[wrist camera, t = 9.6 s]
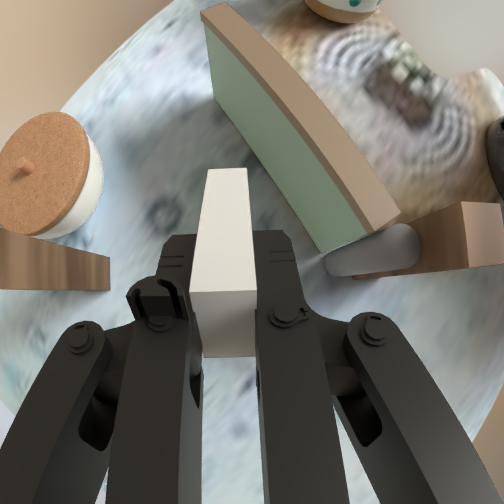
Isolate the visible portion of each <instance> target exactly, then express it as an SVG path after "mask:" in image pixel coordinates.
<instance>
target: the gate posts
mask: <svg viewBox="0 0 504 504" xmlns="http://www.w3.org/2000/svg"><path fill="white" fill-rule="evenodd" d="M406 225H409V226H410V227H412V228H413V229H414V230H415V232H416V233H417V235H418V237H419V239H420V243H421V252H420V256H419V258H418V260H417V262H416V263H415V264H414V265H413V266H411V267H409V268H406V269H398V270H391V271H383V272H375V273H367V274H359V275H353V279H364V278H376V277H388V276H398V275H409V274H419V273H429V272H438V271H447V270H456V269H465V268H474V267H482V266H490V265H498V264H504V225H503V219H502V212H501V206H500V204H498V203H482V202H464V201H461V202H458V203H456V204H454V205H451V206H449V207H447V208H444V209H442V210H439V211H437V212H435V213H432V214H430V215H427V216H425V217H422V218H420V219H418V220H415V221H413V222H410V223H408V224H406ZM0 289H13V290H110V257H106V256H102V255H98V254H94V253H90V252H86V251H82V250H78V249H74V248H71V247H67V246H63V245H59V244H55V243H51V242H48V241H44V240H40V239H37V238H33V237H29V236H26V235H22V234H18V233H15V232H11V231H8V230H4V229H1V228H0Z"/></svg>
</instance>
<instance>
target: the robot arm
mask: <svg viewBox="0 0 504 504" xmlns="http://www.w3.org/2000/svg"><path fill="white" fill-rule="evenodd" d="M486 149H487V156H488V161H489V165H490V169H491V172H492V175H493V178H494V180H495V183H496V185H497V187H498V190H499V192H500V194H501V195H502V197H503V199H504V116H502V117H500V118H499V119H498V120H496V121H495V122H493V123H492V124H491V125H490V127H489V129H488V132H487V137H486ZM126 298H127V301H128V303H129V306H130V308H131V311H132V313H133V316H134V318H135V321H133V322H131V323H129V324H127V325H124V326H121V327H117V328H113V329H109V330H105V331H103V329H102V328H101V326H100V325H99V324H97V323H95V322H93V321H82V322H78V323H75V324H73V325H72V326H70V327H68V328H67V329H66V331H65V332H64V333H63V334H62V335H61V337H60V338H59V340H58V342H57V343H56V345H55V346H54V348H53V350H52V351H51V353H50V355H49V356H48V358H47V360H46V362H45V363H44V365H43V367H42V368H41V370H40V372H39V374H38V375H37V377H36V379H35V381H34V383H33V384H32V386H31V388H30V390H29V392H28V394H27V396H26V397H25V399H24V401H23V403H22V405H21V407H20V409H19V411H18V413H17V415H16V417H15V419H14V421H13V423H12V425H11V427H10V429H9V431H8V433H7V436H6V438H5V440H4V442H3V444H2V447H1V449H0V504H95V502H96V499H97V496H98V493H99V491H100V488H101V485H102V483H103V480H104V477H105V475H106V472H107V469H108V467H109V469H108V479H107V489H106V501H105V504H201V462H202V410H203V381H204V374H203V369H202V365H201V362H202V352H203V356H204V358H219V357H252V356H256V386H257V396H258V411H259V427H260V443H261V459H262V474H263V490H264V504H350V503H349V496H348V490H347V483H346V477H345V471H344V465H343V459H342V453H341V447H340V441H339V436H338V430H337V425H336V419H335V414H334V409H333V405H334V408H335V410H336V412H337V414H338V416H339V418H340V420H341V422H342V424H343V426H344V428H345V430H346V432H347V434H348V437H349V439H350V441H351V443H352V445H353V447H354V449H355V451H356V453H357V455H358V457H359V459H360V462H361V464H362V466H363V468H364V470H365V472H366V474H367V476H368V478H369V480H370V482H371V485H372V487H373V489H374V491H375V493H376V495H377V497H378V499H379V501H380V503H381V504H503V502H502V500H501V498H500V496H499V494H498V492H497V490H496V488H495V486H494V484H493V482H492V480H491V478H490V476H489V474H488V472H487V470H486V468H485V466H484V464H483V463H482V461H481V459H480V457H479V455H478V453H477V452H476V450H475V448H474V446H473V444H472V443H471V441H470V439H469V437H468V436H467V434H466V432H465V430H464V429H463V427H462V425H461V424H460V422H459V420H458V419H457V417H456V415H455V414H454V412H453V410H452V409H451V407H450V405H449V404H448V402H447V401H446V399H445V397H444V396H443V394H442V393H441V391H440V389H439V388H438V386H437V385H436V383H435V381H434V380H433V378H432V377H431V375H430V374H429V372H428V371H427V369H426V368H425V366H424V365H423V363H422V362H421V360H420V359H419V357H418V356H417V354H416V353H415V351H414V350H413V348H412V347H411V345H410V344H409V342H408V341H407V339H406V338H405V337H404V335H403V334H402V332H401V331H400V329H399V328H398V327H397V325H396V324H395V323H394V322H393V321H392V320H391V319H390V318H388V317H386V316H384V315H382V314H380V313H375V312H365V313H360V314H358V315H357V316H355V317H353V318H352V320H351V321H350V322H343V321H338V320H333V319H329V318H326V317H323V316H321V315H319V314H317V313H315V312H314V311H313V310H312V309H311V308H310V307H309V306H308V305H307V303H306V301H305V299H304V295H303V291H302V286H301V282H300V278H299V273H298V269H297V265H296V262H295V256H294V253H293V248H292V243H291V239H290V238H289V237H288V236H287V235H286V234H285V233H284V232H283V231H282V230H265V231H252V225H251V213H250V201H249V189H248V177H247V168H227V169H208V174H207V180H206V185H205V191H204V197H203V203H202V209H201V215H200V221H199V227H198V233H197V234H185V235H172V236H171V237H170V238H169V239H168V241H167V242H166V243H165V244H164V245H163V249H162V252H161V256H160V260H159V263H158V268H157V271H156V275H155V276H149V277H146V278H144V279H142V280H140V281H138V282H136V283H135V284H134V285H133V286H132V287H131V288H130V289H129V291H128V293H127V295H126ZM332 403H333V404H332Z"/></svg>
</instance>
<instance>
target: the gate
mask: <svg viewBox="0 0 504 504" xmlns="http://www.w3.org/2000/svg"><path fill="white" fill-rule="evenodd" d="M200 15H201V21H202V22H203V23H204V26H205V34H206V42H207V50H208V57H209V65H210V73H211V80H212V88H213V95H214V98H215V100H216V101H217V102H218V104H219V105H220V106H221V108H222V109H223V110H224V112H225V113H226V114H227V116H228V117H229V118H230V120H231V121H232V123H233V124H234V125H235V127H236V128H237V129H238V131H239V132H240V134H241V135H242V136H243V138H244V139H245V141H246V142H247V143H248V145H249V146H250V148H251V149H252V150H253V152H254V153H255V155H256V156H257V158H258V159H259V160H260V162H261V163H262V165H263V166H264V168H265V169H266V170H267V172H268V173H269V175H270V176H271V178H272V179H273V181H274V182H275V184H276V185H277V187H278V188H279V190H280V191H281V193H282V194H283V195H284V197H285V198H286V200H287V201H288V203H289V204H290V206H291V207H292V209H293V211H294V212H295V214H296V215H297V217H298V218H299V220H300V221H301V223H302V224H303V226H304V227H305V229H306V230H307V232H308V234H309V235H310V237H311V238H312V240H313V241H314V243H315V245H316V246H317V248H318V249H319V251H320V252H321V254H322V253H324V252H327V251H329V250H331V249H334V248H336V247H338V246H341V245H343V244H345V243H347V242H350V241H352V240H354V239H357V238H359V237H361V236H363V235H366V234H370V233H372V232H374V231H376V230H377V229H379V228H380V227H381V226H383V225H384V224H386V223H387V222H388V221H390V220H391V219H393V218H394V217H395V216H397V215H398V214H400V213H401V212H400V210H399V208H398V207H397V205H396V203H395V202H394V200H393V199H392V197H391V196H390V194H389V192H388V191H387V189H386V188H385V186H384V185H383V183H382V182H381V180H380V179H379V177H378V176H377V174H376V173H375V171H374V170H373V168H372V167H371V166H370V164H369V163H368V161H367V160H366V158H365V157H364V156H363V154H362V153H361V151H360V150H359V149H358V147H357V146H356V145H355V143H354V142H353V140H352V139H351V138H350V136H349V135H348V134H347V132H346V131H345V130H344V129H343V127H342V126H341V125H340V123H339V122H338V121H337V120H336V118H335V117H334V116H333V115H332V113H331V112H330V111H329V110H328V108H327V107H326V106H325V105H324V103H323V102H322V101H321V100H320V99H319V97H318V96H317V95H316V94H315V93H314V92H313V90H312V89H311V88H310V87H309V86H308V85H307V83H306V82H305V81H304V80H303V79H302V78H301V77H300V76H299V74H298V73H297V72H296V71H295V70H294V69H293V68H292V67H291V66H290V65H289V63H288V62H287V61H286V60H285V59H284V58H283V57H282V56H281V55H280V54H279V53H278V52H277V51H276V50H275V49H274V48H273V47H272V46H271V45H270V44H269V43H268V42H267V41H266V40H265V39H264V38H263V37H262V36H261V35H260V34H259V33H258V32H257V31H256V30H255V29H254V28H253V27H252V26H251V25H250V24H249V23H248V22H247V21H246V20H245V19H243V18H242V17H241V16H240V15H239V14H238V13H237V12H236V11H235V10H233V9H232V8H231V7H230V6H229V5H228V4H227V3H226V2H224V3H221V4H218V5H215V6H213V7H210V8H207V9H205V10H202V11H200ZM420 252H421V243H420V239H419V237H418V235H417V233H416V232H415V230H414V229H413V228H412V227H410V226H409V225H406V224H402V223H399V224H395V225H393V226H390V227H388V228H386V229H383V230H381V231H379V232H376V233H374V234H371V235H369V236H367V237H364V238H362V239H360V240H357V241H355V242H352V243H350V244H348V245H345V246H343V247H340V248H338V249H336V250H333V251H331V252H330V253H328V255H327V256H326V258H325V268H326V270H327V272H328V273H329V274H330V275H332V276H334V277H342V276H351V275H359V274H367V273H375V272H383V271H391V270H398V269H406V268H409V267H411V266H413V265H414V264H415V263H416V262H417V260H418V258H419V256H420Z"/></svg>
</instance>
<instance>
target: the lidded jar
mask: <svg viewBox="0 0 504 504" xmlns="http://www.w3.org/2000/svg"><path fill="white" fill-rule="evenodd" d="M103 185H104V172H103V164H102V160H101V157H100V155H99V152H98V150H97V148H96V146H95V145H94V143H93V141H92V140H91V139H90V137H89V136H88V135H87V133H86V132H85V131H84V129H83V128H82V126H81V125H80V124H79V123H78V122H77V121H76V120H75V119H74V118H73V117H72V116H70V115H68V114H65V113H62V112H50V113H44V114H41V115H39V116H36V117H34V118H32V119H30V120H29V121H28V122H26V123H25V124H24V125H22V126H21V127H20V128H19V129H18V130H17V131H16V132H15V133H14V134H13V135H12V136H11V137H10V139H9V140H8V141H7V143H6V144H5V146H4V147H3V149H2V151H1V153H0V225H1V226H2V228H3V229H5V230H8V231H11V232H15V233H18V234H22V235H26V236H29V237H33V238H38V239H52V238H59V237H62V236H65V235H68V234H70V233H72V232H73V231H75V230H77V229H78V228H80V227H81V226H82V225H83V224H84V223H85V222H86V221H87V220H88V219H89V218H90V216H91V215H92V214H93V212H94V210H95V209H96V207H97V205H98V203H99V200H100V197H101V194H102V190H103Z"/></svg>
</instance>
